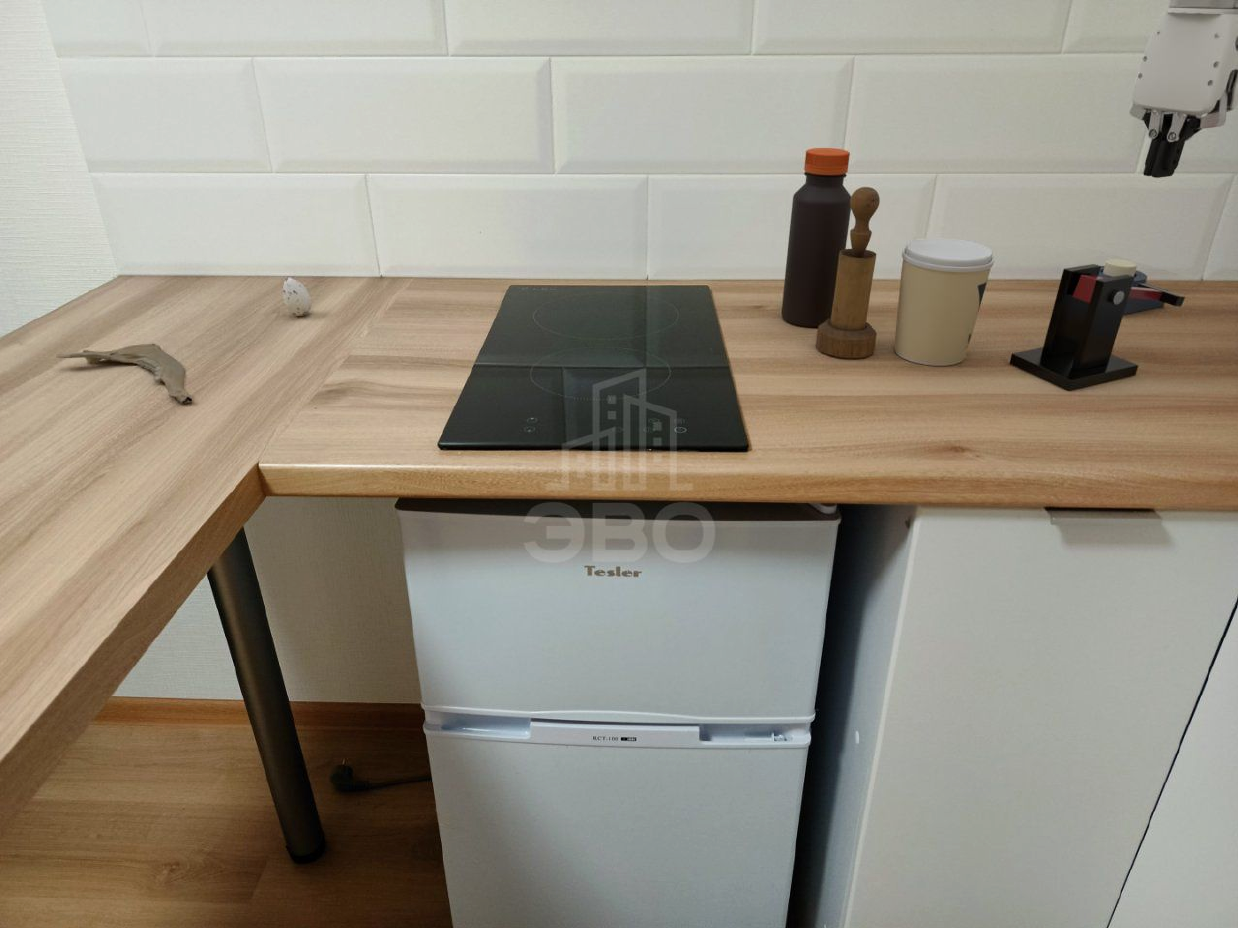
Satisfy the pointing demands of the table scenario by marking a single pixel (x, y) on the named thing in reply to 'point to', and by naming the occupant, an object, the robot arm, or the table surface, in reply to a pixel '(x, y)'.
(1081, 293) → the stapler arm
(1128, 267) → the button
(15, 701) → the table surface
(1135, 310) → the button box
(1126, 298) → the black stand
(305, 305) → the egg
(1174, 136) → the robot arm
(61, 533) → the table surface
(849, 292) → the mortar and pestle
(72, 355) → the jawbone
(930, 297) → the coffee cup
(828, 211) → the bottle
